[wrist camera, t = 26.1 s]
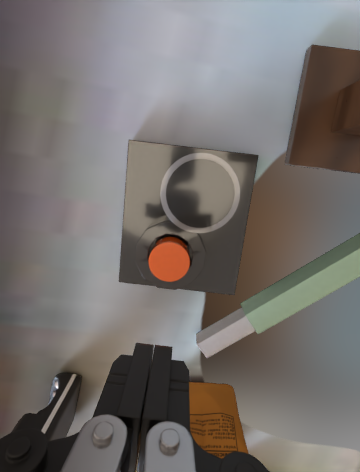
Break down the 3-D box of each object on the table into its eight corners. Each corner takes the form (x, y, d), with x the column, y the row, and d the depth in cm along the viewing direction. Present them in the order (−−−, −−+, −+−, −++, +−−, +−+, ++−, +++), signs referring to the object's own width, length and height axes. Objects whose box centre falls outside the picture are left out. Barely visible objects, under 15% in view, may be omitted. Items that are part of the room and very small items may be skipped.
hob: (131, 141, 27) (124, 137, 24) (254, 155, 27) (264, 153, 24) (121, 276, 30) (113, 290, 27) (232, 289, 31) (238, 304, 27)
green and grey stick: (208, 362, 30) (195, 344, 29) (206, 347, 32) (194, 330, 32) (405, 251, 27) (394, 228, 26) (386, 244, 29) (375, 223, 29)
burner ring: (164, 148, 24) (164, 147, 24) (246, 157, 24) (246, 157, 24) (156, 228, 26) (156, 228, 25) (233, 237, 26) (233, 237, 26)
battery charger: (51, 365, 33) (-17, 464, 22) (83, 372, 33) (32, 474, 22) (43, 413, 35) (-24, 528, 24) (74, 420, 35) (22, 537, 24)
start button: (153, 234, 26) (150, 239, 24) (191, 239, 26) (192, 244, 24) (149, 270, 27) (146, 279, 25) (187, 275, 27) (187, 284, 25)
